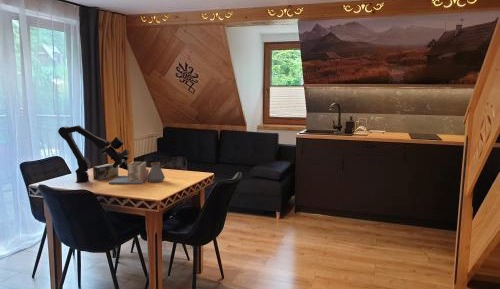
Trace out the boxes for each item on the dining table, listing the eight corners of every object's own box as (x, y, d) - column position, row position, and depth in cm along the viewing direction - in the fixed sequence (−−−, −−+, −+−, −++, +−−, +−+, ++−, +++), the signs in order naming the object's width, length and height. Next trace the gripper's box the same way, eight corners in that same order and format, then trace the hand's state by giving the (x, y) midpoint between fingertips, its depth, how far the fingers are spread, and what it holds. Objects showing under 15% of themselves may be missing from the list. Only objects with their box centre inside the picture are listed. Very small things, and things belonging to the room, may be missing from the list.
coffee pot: (143, 182, 253) (143, 160, 251) (157, 179, 262) (156, 157, 260) (165, 186, 240) (164, 163, 238) (178, 183, 250) (178, 161, 248)
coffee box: (112, 163, 272) (92, 166, 258) (118, 164, 268) (98, 167, 255) (113, 175, 273) (93, 179, 260) (118, 176, 269) (98, 180, 256)
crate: (128, 181, 249) (127, 165, 247) (133, 177, 261) (132, 161, 259) (141, 181, 249) (141, 165, 247) (146, 177, 261) (146, 161, 259)
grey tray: (108, 184, 246) (108, 173, 245) (117, 178, 264) (117, 168, 263) (142, 184, 246) (142, 173, 245) (149, 178, 264) (149, 168, 263)
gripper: (117, 147, 242) (134, 164, 244) (125, 144, 261) (142, 159, 263) (105, 159, 243) (122, 176, 245) (114, 155, 262) (131, 170, 263)
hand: (130, 170), depth 254 cm, fingers closed, pressing on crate
